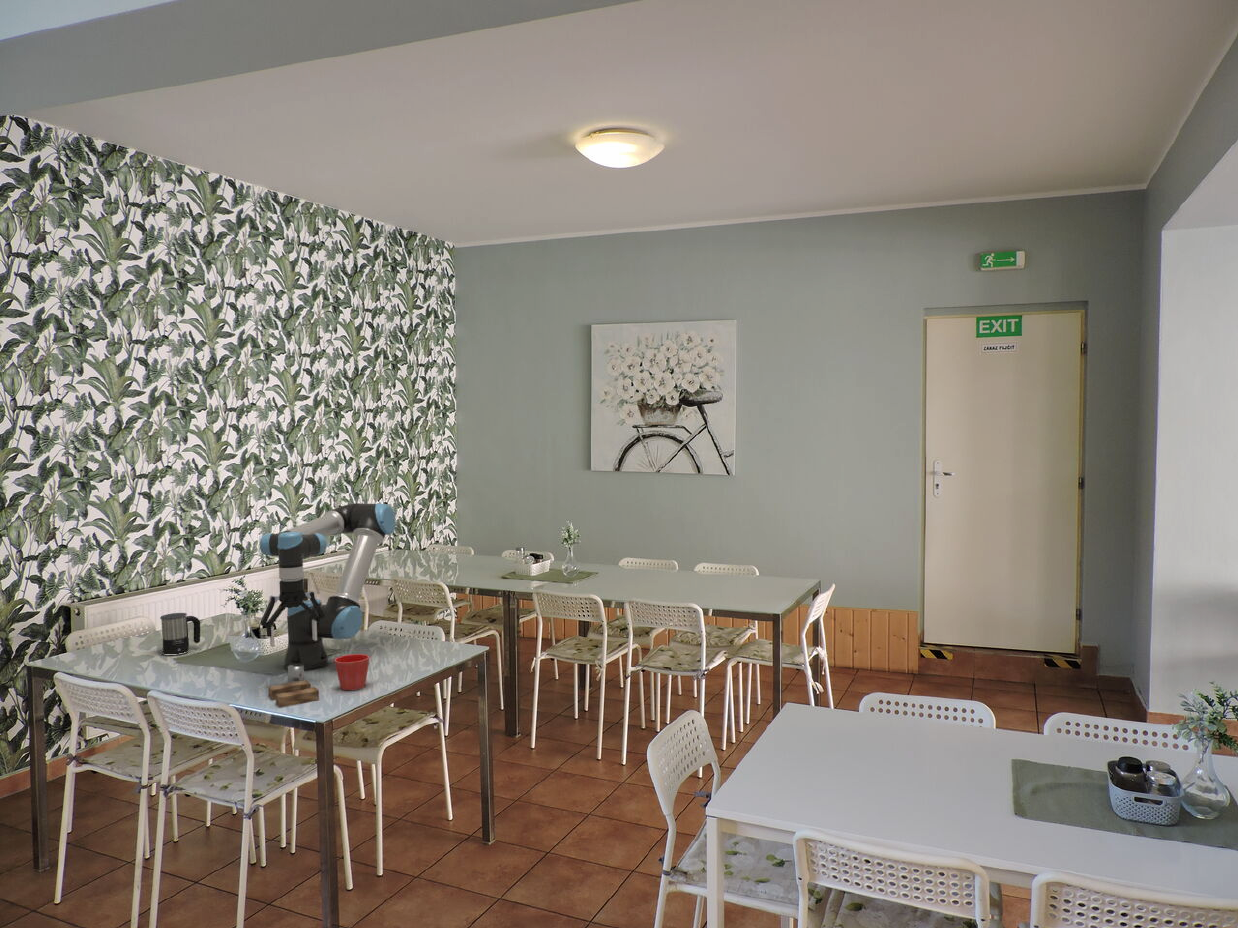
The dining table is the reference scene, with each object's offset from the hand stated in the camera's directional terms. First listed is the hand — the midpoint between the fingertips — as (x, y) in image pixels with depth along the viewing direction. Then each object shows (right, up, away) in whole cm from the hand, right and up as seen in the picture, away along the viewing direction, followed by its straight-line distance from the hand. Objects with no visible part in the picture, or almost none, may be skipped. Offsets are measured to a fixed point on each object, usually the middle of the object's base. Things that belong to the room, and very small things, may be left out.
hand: (293, 642), depth 293 cm
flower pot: (+20, -15, -1) cm, 25 cm away
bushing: (+1, -15, +1) cm, 15 cm away
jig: (+4, -15, -11) cm, 19 cm away
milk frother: (-64, -14, +51) cm, 83 cm away
